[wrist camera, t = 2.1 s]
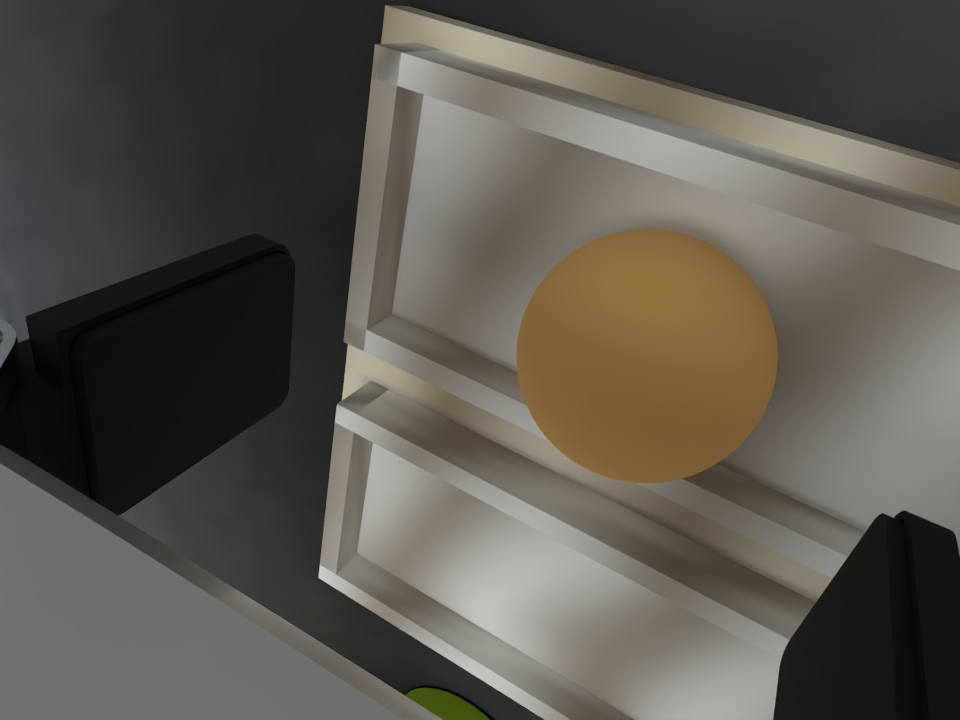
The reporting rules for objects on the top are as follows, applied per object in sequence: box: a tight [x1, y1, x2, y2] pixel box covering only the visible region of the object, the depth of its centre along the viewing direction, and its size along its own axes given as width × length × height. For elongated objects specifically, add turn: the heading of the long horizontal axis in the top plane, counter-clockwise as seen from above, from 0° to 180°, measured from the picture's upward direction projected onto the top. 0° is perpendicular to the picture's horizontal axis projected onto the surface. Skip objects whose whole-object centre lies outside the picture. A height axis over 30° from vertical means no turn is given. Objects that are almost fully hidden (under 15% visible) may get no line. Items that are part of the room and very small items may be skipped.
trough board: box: [319, 5, 960, 720], centre depth 17 cm, size 24×19×3 cm
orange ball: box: [516, 229, 778, 483], centre depth 14 cm, size 5×5×5 cm
